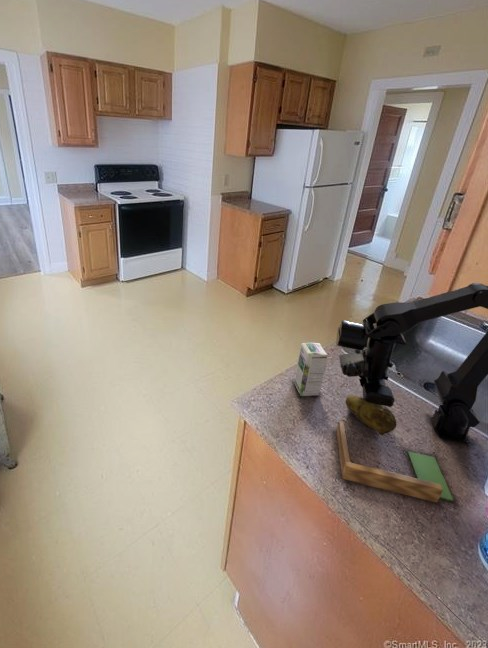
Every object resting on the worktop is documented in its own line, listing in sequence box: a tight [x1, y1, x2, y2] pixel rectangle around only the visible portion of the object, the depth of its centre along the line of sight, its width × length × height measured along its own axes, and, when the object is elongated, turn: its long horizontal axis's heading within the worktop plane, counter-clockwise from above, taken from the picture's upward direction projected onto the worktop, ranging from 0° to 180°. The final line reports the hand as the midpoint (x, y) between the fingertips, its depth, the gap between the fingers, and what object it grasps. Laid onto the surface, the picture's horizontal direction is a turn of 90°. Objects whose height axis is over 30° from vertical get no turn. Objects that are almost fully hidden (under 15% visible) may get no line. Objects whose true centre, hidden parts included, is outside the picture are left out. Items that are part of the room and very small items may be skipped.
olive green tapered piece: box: [345, 395, 397, 436], centre depth 82 cm, size 8×13×8 cm, turn 2°
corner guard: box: [335, 421, 443, 503], centre depth 72 cm, size 18×12×4 cm
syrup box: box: [293, 342, 329, 397], centre depth 92 cm, size 6×6×14 cm
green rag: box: [407, 451, 454, 502], centre depth 71 cm, size 6×10×1 cm, turn 165°
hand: (365, 399), depth 87 cm, fingers closed
